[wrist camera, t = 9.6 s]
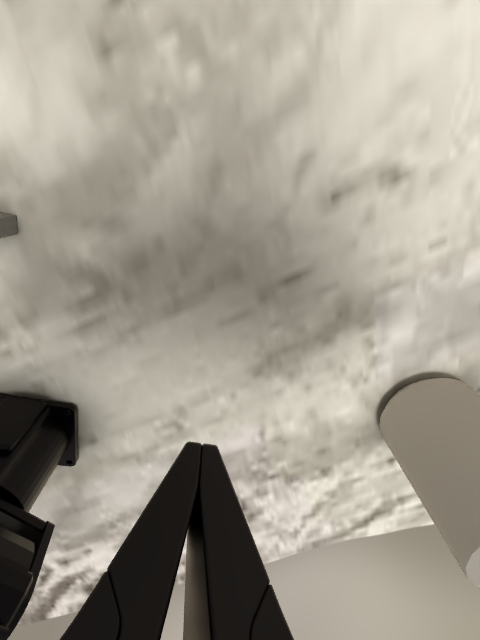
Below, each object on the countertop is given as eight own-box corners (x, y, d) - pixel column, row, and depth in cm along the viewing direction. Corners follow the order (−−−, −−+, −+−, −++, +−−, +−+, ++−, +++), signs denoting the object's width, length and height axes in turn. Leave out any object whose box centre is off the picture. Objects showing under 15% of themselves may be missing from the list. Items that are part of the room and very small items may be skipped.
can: (371, 382, 22) (505, 571, 12) (472, 360, 22) (711, 538, 11) (376, 448, 26) (483, 645, 15) (464, 431, 25) (643, 623, 14)
